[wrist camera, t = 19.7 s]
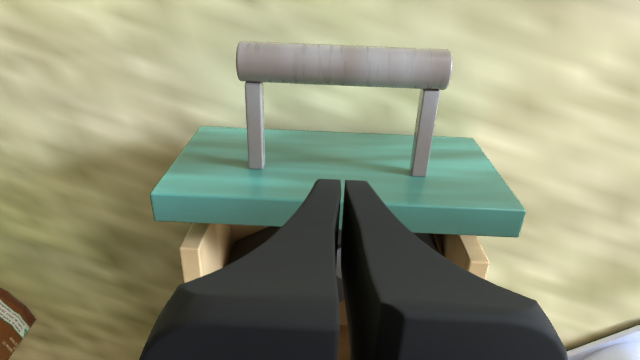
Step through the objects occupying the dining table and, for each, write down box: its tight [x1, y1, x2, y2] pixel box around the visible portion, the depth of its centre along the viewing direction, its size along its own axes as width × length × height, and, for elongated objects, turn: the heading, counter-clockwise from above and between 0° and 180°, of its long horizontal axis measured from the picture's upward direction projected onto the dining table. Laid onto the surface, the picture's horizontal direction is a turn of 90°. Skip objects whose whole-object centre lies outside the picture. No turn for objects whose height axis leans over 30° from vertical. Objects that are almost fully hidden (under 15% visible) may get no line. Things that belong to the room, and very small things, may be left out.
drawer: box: [150, 41, 526, 360], centre depth 20 cm, size 17×13×7 cm
